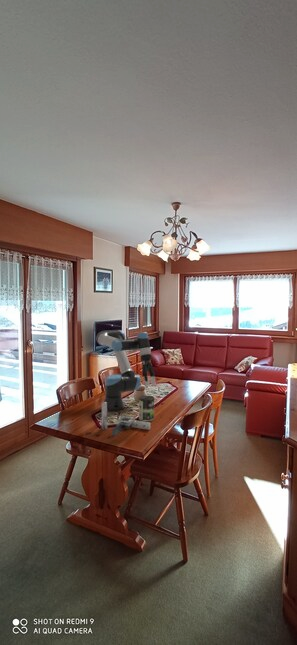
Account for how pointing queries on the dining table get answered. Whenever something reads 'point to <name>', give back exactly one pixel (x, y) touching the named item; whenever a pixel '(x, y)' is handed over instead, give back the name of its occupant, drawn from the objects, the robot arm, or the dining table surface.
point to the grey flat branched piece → (129, 424)
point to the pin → (104, 415)
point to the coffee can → (146, 408)
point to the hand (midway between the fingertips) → (150, 386)
